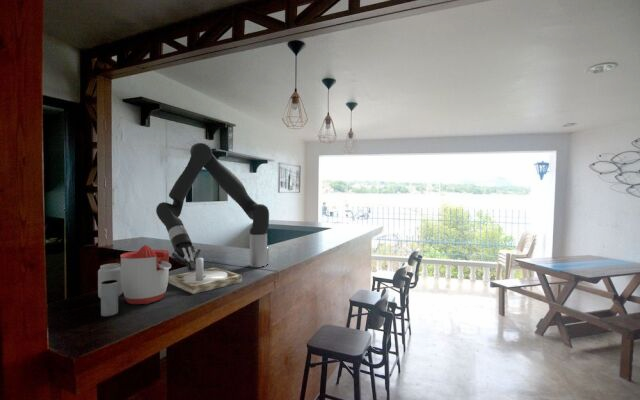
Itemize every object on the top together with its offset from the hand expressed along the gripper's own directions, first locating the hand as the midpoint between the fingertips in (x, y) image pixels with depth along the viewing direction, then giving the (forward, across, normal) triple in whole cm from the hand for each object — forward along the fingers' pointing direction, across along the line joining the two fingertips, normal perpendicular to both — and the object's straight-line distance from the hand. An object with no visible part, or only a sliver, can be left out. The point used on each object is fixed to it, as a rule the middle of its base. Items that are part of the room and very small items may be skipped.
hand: (193, 270), depth 128 cm
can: (-2, -27, +12) cm, 29 cm away
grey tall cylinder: (+11, -32, -2) cm, 34 cm away
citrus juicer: (+8, -19, +2) cm, 21 cm away
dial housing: (+4, +6, +5) cm, 9 cm away
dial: (+3, +6, +4) cm, 8 cm away
